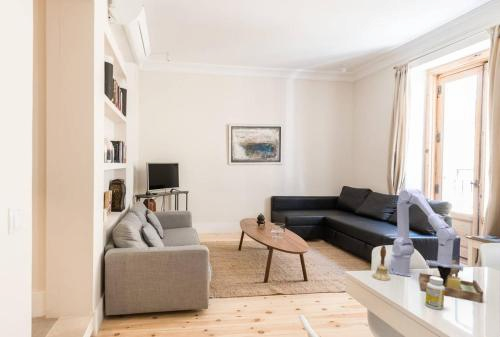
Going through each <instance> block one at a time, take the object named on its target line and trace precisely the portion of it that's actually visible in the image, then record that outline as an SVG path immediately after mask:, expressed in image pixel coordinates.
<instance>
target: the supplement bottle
mask: <svg viewBox="0 0 500 337" xmlns="http://www.w3.org/2000/svg"><path fill="white" fill-rule="evenodd" d="M435 276H436V275H434V276H431V277H430V282H429V283H427V289H426V292H425V305H426V307H428V308H430V309H434V310H442V309H443V308H444V302H445V295H444V292H445V287H444V286H443V285H442V284H443V279H442V278H439V277H435Z"/></svg>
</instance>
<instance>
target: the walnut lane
mask: <svg viewBox="0 0 500 337" xmlns="http://www.w3.org/2000/svg"><path fill="white" fill-rule="evenodd" d="M431 276H435V277H439V278H441V277H440V275H435V274H429V273H421V272H419V278H418V279H419V280H418V281H420V282H419V287H420V291H421V292H425V293H426V289H427V283H429V282H430V277H431ZM460 280H461V285H460V289H454V288H449V287H447V286H446V281H445V284H442V285H443V286H444V287H445V292H444V297H445V296H446V297H450V298H455V299H456V298H457V299H461V300H465V301H466V300H467V301H471V302H477V303H480V304H481V303H483V302H484V301H483V300H484V299H483V298H484V291H483V290H482V288H481V287H480V285H479V284H478V283H477V281H476V280H474V279H473V280H472V281H466V280H462V279H460Z"/></svg>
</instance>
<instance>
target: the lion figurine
mask: <svg viewBox="0 0 500 337" xmlns="http://www.w3.org/2000/svg"><path fill="white" fill-rule="evenodd" d="M452 264H456V265H460V263H459V261H457V260H453V259H452ZM459 273H460V270H455V269H451V272H450V274H449V275H448V276H452V277H453V275H455V276H454V277H458V276H459Z"/></svg>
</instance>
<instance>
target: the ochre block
mask: <svg viewBox="0 0 500 337" xmlns="http://www.w3.org/2000/svg"><path fill="white" fill-rule="evenodd" d="M461 280H462V279H461V278H460V277H458V276H457V277H455V276H453V275H452V276H448V277H447V279H446V286H447V287H449V288H454V289H460V285H461Z"/></svg>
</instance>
